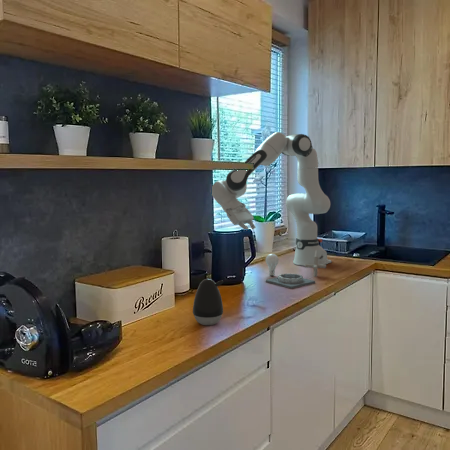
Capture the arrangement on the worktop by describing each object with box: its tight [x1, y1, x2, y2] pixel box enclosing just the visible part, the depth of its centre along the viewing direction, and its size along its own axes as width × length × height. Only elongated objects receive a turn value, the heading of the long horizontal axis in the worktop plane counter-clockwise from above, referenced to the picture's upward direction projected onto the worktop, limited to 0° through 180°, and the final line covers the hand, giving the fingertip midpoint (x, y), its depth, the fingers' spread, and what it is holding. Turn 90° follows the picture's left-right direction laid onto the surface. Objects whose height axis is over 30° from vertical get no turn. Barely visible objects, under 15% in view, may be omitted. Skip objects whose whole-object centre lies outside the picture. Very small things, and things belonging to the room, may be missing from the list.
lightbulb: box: [265, 253, 279, 277], centre depth 221 cm, size 6×6×11 cm
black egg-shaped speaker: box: [192, 278, 224, 326], centre depth 152 cm, size 10×10×15 cm
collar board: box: [265, 273, 316, 290], centre depth 208 cm, size 16×16×3 cm
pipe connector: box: [304, 256, 327, 278], centre depth 220 cm, size 10×10×10 cm
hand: (250, 229), depth 224 cm, fingers open, 8 cm apart
